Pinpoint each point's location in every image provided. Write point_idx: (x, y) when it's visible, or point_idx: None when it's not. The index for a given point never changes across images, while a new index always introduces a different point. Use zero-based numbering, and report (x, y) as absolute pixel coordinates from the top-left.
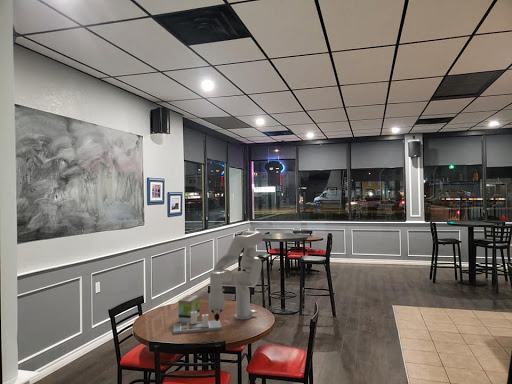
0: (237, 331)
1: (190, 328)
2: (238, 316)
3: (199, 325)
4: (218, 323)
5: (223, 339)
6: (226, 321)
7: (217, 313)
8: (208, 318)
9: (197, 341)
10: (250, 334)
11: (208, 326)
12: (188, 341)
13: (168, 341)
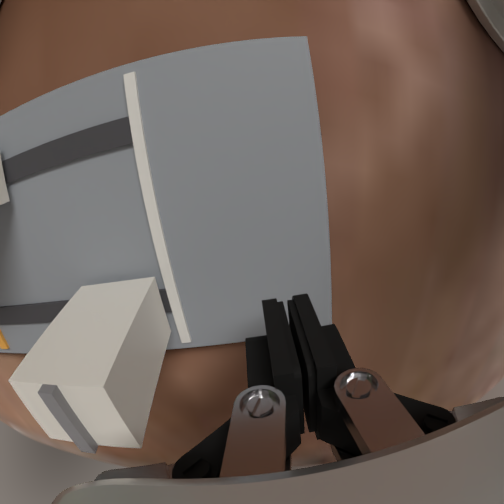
0: (442, 349)
1: (7, 323)
2: (500, 11)
3: (46, 242)
4: (293, 190)
5: (317, 456)
6: (384, 43)
7: (323, 438)
8: (148, 410)
9: (150, 464)
10: (483, 383)
11: (167, 333)
12: (97, 453)
13: (2, 420)
